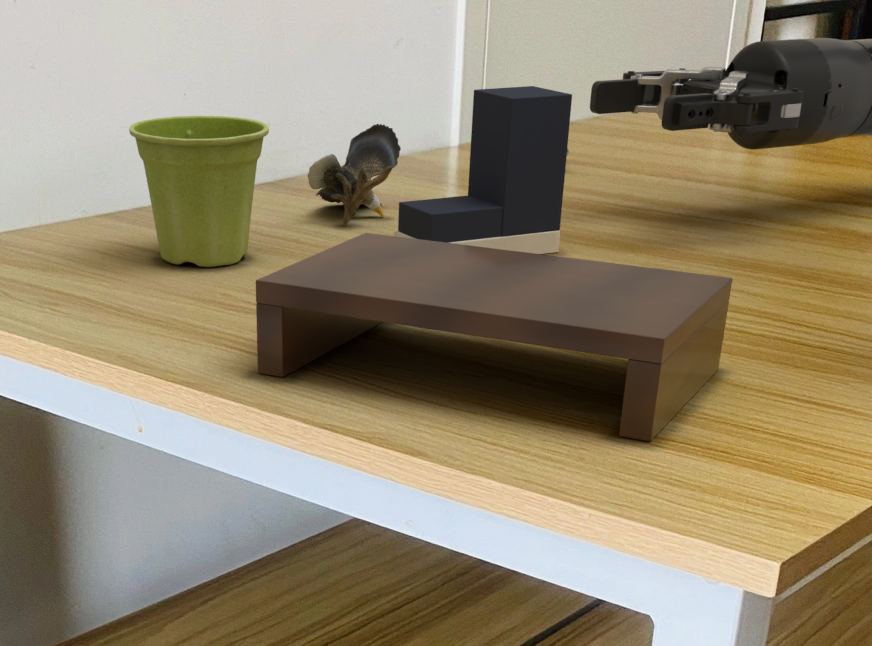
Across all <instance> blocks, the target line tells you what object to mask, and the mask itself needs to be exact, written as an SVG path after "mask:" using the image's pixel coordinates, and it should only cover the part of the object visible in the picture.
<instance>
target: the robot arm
mask: <svg viewBox="0 0 872 646" xmlns="http://www.w3.org/2000/svg"><path fill="white" fill-rule="evenodd" d="M589 110H590V112H591V113H592V114H597V115H606V114H607V115H608V114H619V113H631V114H637V115H638V114H639V113H645V114H646V113H650V114H651V113H652V114H656V115H657V116H658V118H659V119H660V120H661V128H662V129H663V130H666V131H670V132H675V131H677V132H678V131H688V130H699V129H708V130H711V131H713V132H714V133H727V134H728V136H729V138H730V139H731V140H732V141H733V142H734V143H735V144H736V145H737V146H739V147H741V148H743V149H746V150H763V149H765V150H766V149H777V148H785V147H786V148H787V147H795V146H796V147H797V146H807V145H817V144H822V143H827V142H830V141H834V140H837V139H845V138H856V137H867V136H872V38H865V39H864V38H863V39H862V38H861V39H848V40H847V39H846V40H845V39H839V38H831V37H817V38H816V37H815V38H798V39H795V38H793V39H778V40H777V39H775V40H760V41H755V42H752V43H749V44H748V45H746V46H744V47H743V48H742V49H741V50H739V51H738V52H737V53H736V55H735V56H734V57H733V58H732V60H731V62H729V65H728V66H727V68H726V67H721V66H704V67H702V68H701V69H687V68H682V67H681V68H679V69H674V68H673V69H671V68H669V69H666V70H651V71H650V70H649V71H635V70H628V71H627V72H623V73H622V79H621V78H620V79H609V80H606V79H605V80H596V81H594V82H593V84H592V86H591V90H590V99H589Z"/></svg>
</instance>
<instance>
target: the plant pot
mask: <svg viewBox="0 0 872 646" xmlns="http://www.w3.org/2000/svg"><path fill="white" fill-rule="evenodd" d="M128 131H129V135H130V136H132V137H133V138H134V139H135V144H136V147H137V152H138V155H139V157H140V159H141V161H142V162H143V167H144V173H145V177H146V183H147V188H148V194H149V200H150V204H151V209H152V213H153V214H152V216H153V221H154V228H155V233H156V238H157V243H158V248H159V253H160V257H161V259H162V260H163V261H166V262H168V263H170V264H173V265H182V264H184V263H192V264H195V265H196V266H198V267H204V268H214V267H217V266H218V267H219V266H230V265H234V264H236V263H238V262H240V261H241V259H242V258H243V257H247V255H248V248H249V240H250V239H249V238H250V229H251V221H252V219H251V218H252V211H253V201H254V194H255V193H254V192H255V185H256V184H255V183H256V176H257V175H256V174H257V166H258V160H259V159H260V157H261V154H262V151H263V143H264V138H265V137H266V136H267V135H268V134H269V132H270V127H269V125H268V124H267V123H265V122H263V121H261V120H256V119H251V118H246V117H238V116H224V115H181V116H179V115H178V116H168V117H167V116H165V117H158V118H157V117H156V118H151V119H145V120H141V121H137V122H134V123H133V124H130V126H129V128H128Z"/></svg>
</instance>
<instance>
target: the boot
mask: <svg viewBox="0 0 872 646" xmlns="http://www.w3.org/2000/svg"><path fill="white" fill-rule="evenodd" d="M572 101H573V94H572V93H567V92H562V91H559V90H558V91H557V90H553V89H548V88H544V87H540V86H536V85H535V86H534V85H529V86H527V85H526V86H511V87H495V88H480V89H479V88H477V89H474V90H473V101H472V115H471V116H472V117H471V121H472V122H471V132H470V133H471V134H470V151H469V168H468V185H467V187H468V188H467V195H458V196H449V197H448V196H447V197H438V198H437V197H436V198H429V199H417V200H409V201H407V200H406V201H399V202H398V219H397V220H398V221H397V222H398V223H397V230H393V236H397V237H405V238H413V239H421V240H429V241H437V242H445V243H453V244H461V245H470V246H478V247H486V248H494V249H502V250H510V251H518V252H526V253H534V254H542V255H547V254H553V253H554V254H555V253H559V252H560V242H561V223H562V222H561V221H562V220H561V219H562V211H563V200H564V199H563V198H564V189H565V177H566V167H567V166H566V165H567V157H568V155H567V148H568V145H569V135H570V124H571V113H572V112H571V111H572Z"/></svg>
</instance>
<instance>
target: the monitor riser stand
mask: <svg viewBox="0 0 872 646" xmlns="http://www.w3.org/2000/svg"><path fill="white" fill-rule="evenodd" d="M732 285H733V277H729V276H721V275H711V274H703V273H695V272H689V271H688V272H687V271H679V270H673V269H672V270H670V269H662V268H655V267H646V266H640V265H639V266H638V265H630V264H623V263H615V262H607V261H606V262H605V261H599V260H592V259H591V260H590V259H581V258H574V257H567V256H557V255H550V254H534V253H526V252H518V251H510V250H502V249H494V248H486V247H478V246H470V245H461V244H453V243H445V242H437V241H429V240H421V239H413V238H405V237H397V236H394V235H388V234H379V233H371V232H364V233H362V234H360V235H357V236H355V237H352V238H350V239H348V240H345V241H343V242H341V243H338V244H337V245H334V246H331V247H329V248H327V249H325V250H322V251H320V252H318V253H316V254H313V255H311V256H309V257H306V258H304V259H301V260H300V261H296V262H295V263H293V264H290V265H288V266H286V267H283V268H281V269H279V270H276V271H274V272H272V273H269V274H268V275H264V276H262V277H260V278H258V279H255V302H256V303H255V307H256V311H255V312H256V352H257V353H256V355H257V356H256V359H257V374H261V375H266V376H272V377H279V378H283V377H286V376H287V375H289V374H291V373H293V372H294V371H296V370H298V369H301V368H302V367H304V366H305V365H307V364H309V363H311V362H313V361H315V360H316V359H318V358H320V357H322V356H323V355H325V354H327V353H329V352H331V351H333V350H334V349H337V348H338V347H340V346H342V345H343V344H346V343H347V342H349V341H351V340H352V339H354V338H356V337H358V336H360V335H361V334H363V333H365V332H367V331H369V330H370V329H372V328H374V327H376V326H378V325H380V324H381V323H387V324H393V325H394V324H395V325H400V326H407V327H412V328H413V327H414V328H421V329H427V330H434V331H441V332H446V333H452V334H460V335H466V336H473V337H480V338H485V339H486V338H487V339H492V340H500V341H507V342H514V343H519V344H526V345H534V346H540V347H545V348H551V349H559V350H565V351H572V352H579V353H585V354H591V355H592V354H593V355H599V356H606V357H613V358H620V359H626V360H627V367H626V376H625V382H624V390H623V391H624V392H623V398H622V399H623V400H622V408H621V416H620V424H619V433H618V436H619V437H622V438H628V439H634V440H637V441H638V440H639V441H645V442H652V441H653V440H654V439H655V437H656V436H657V435H658V434H659V433H660V432H661V431H662V430H663V429H664V428H665V427H666V426H667V425H668V423H670V422H671V420H672V419H673V418H674V417H675V416H676V415H677V414H678V413H679V412H680V411H681V410H682V409H683V408H684V407H685V406H686V405H687V404H688V403H689V401H690V400H691V399H692V398H693V397H694V396H695V394H697V393H698V392H699V391H700V389H702V387H703V386H704V385H705V384H706V383H708V381H709V380H710V379H711V378H712V377H713V376H714V375H715V374H716V372H718V370H719V367H720V361H721V355H722V348H723V341H724V336H725V329H726V322H727V317H728V312H729V311H728V310H729V305H730V297H731V291H732Z"/></svg>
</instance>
